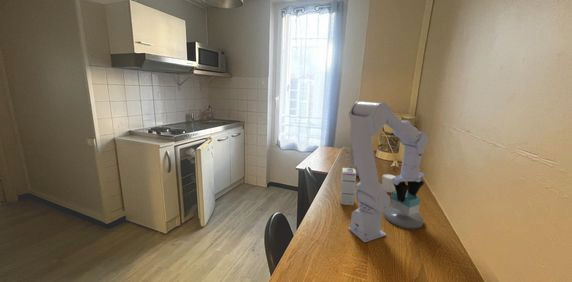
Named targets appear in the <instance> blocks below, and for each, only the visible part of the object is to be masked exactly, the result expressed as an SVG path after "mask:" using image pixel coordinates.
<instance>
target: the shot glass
mask: <svg viewBox="0 0 572 282" xmlns="http://www.w3.org/2000/svg"><path fill="white" fill-rule="evenodd" d="M381 176H382V177H381V179H382V180H381V185H382V186H383V187H384V188H385V189H386V191H387V193H391V192H392V191H396V189H395V186H394V184H393V183H392V179H393V178H394V177H396V176H397V175H393V174H390V173H389V174H388V173H385V174H384V173H383V174H382V175H381Z"/></svg>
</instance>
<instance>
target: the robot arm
mask: <svg viewBox="0 0 572 282" xmlns="http://www.w3.org/2000/svg"><path fill="white" fill-rule="evenodd" d="M348 117H349V121H350V132H349V135H350V136H349V138H350V142H351V145H352V146H353V151H354V155H355V160H356V165H357V169H358V174H359V176H358V177H359V181H358V183H356V185H355V199H356V201H358V203H357V205H359V206H358V207H357V209H355V210H353V211H352V212H351V216H350V226H349V227H348V230H349V231H351V233H352V234H354V235H355V236H356V237H358V238H359V239H360V240H361V241H363V243H367V242H370V241H373V240H376V239H379V238H383V237H385V236H387V234H386V232H384V231H383V230H382V221H383V214H384V212H385V211H386V210H387V209H388V208H389V207H391V206H390V202H391V196H390V195H389V194H388V192H387V191H386V189H385V188H384V187H383V186H382V182H380V181H379V175H378V170H377V165H376V160H375V153H374V148H373V142H372V137H374V136H376V135H378V133H379V132H380V130H381V129H382V128H383V127H384V126H385V125H386V126H387V127H389V128H391V129H392V134H393V135H394V137H395V136H396V138H398V139H399V140H400V142H401V145H403V153H402V159H401V160H402V162H401V169H400V173H399V174H398V175H395V176H396V177H394V178H393V179H392V183H393V184H394V186H395V191H396V193H397V199H398V200H399V201H401V202H404V200H405V196H406V193H407V192H408V193H411V194H413V195H415V196H417V194H418V192H419V190H420V189H421V188H422V186H423V185H424V183H425V182H424V181H423V180H424V179H425V176H426V174H425V173H423V172H420V169H421V162H422V157H423V154H424V153H425V150H426V147H427V145H428V144H429V137H428V135H427V134H426V133H425V132H423V131H419V130H418V128H417V127H416V126H413V125H412V123H411V121H410V120H407V119H406V120H402V119H400V118H399V117H398V116H397V114H395V113H394V112H393V107H392V106H390V105H389V104H388V103H386V102H375V101H374V102H373V101H362V100H357V101H355V102H354V103H353V104H352V106H351V108H350V110H349V111H348Z"/></svg>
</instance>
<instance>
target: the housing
mask: <svg viewBox="0 0 572 282" xmlns="http://www.w3.org/2000/svg"><path fill="white" fill-rule="evenodd" d="M390 194H391V195H390V206H389V207H394V208H396V209H398V210H400V211H401V212H403V213H405V214H407V215H412V214H415V213H418V214H419V212H420V211H419V210H420V201H421V197H420V196H418V195H416V196H415V195H413V194H411V193H408V191H407V193H406V196H405V200H404V202H401V201H399V200H398V199H397V193H396V190H395V191H392V192H390Z"/></svg>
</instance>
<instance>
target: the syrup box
mask: <svg viewBox="0 0 572 282" xmlns="http://www.w3.org/2000/svg"><path fill="white" fill-rule="evenodd" d="M340 178H341V179H340V194H339V201H340V205H346V206H355V199H356V196H355V195H356V185H357V176H356V170H355V169H353V168H350V167H342V168H341V177H340Z"/></svg>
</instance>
